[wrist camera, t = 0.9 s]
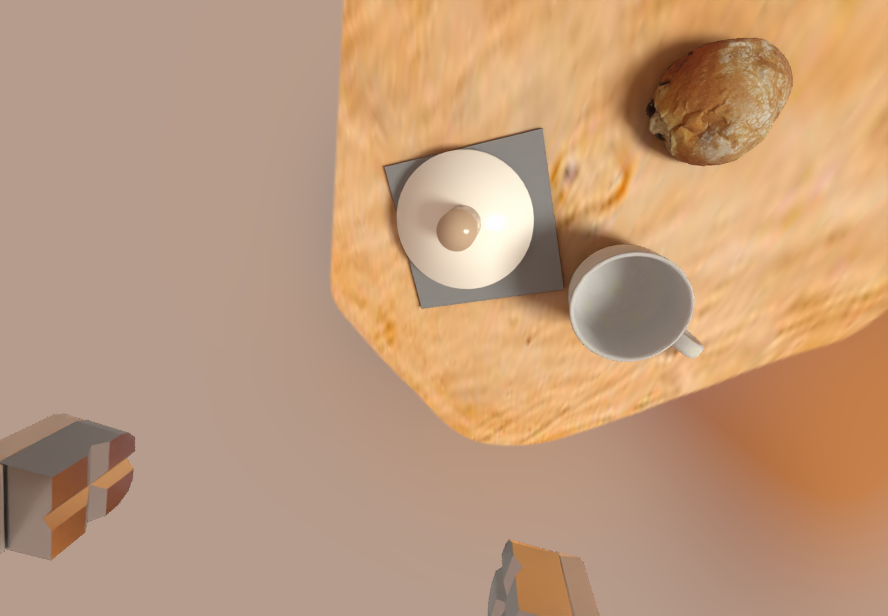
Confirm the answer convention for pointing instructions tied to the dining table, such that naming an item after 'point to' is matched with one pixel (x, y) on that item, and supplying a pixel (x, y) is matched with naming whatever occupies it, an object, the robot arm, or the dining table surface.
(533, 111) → the dining table surface
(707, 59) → the bread roll
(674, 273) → the teacup
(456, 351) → the dining table surface
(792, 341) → the dining table surface
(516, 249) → the lid
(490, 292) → the mat
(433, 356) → the dining table surface
